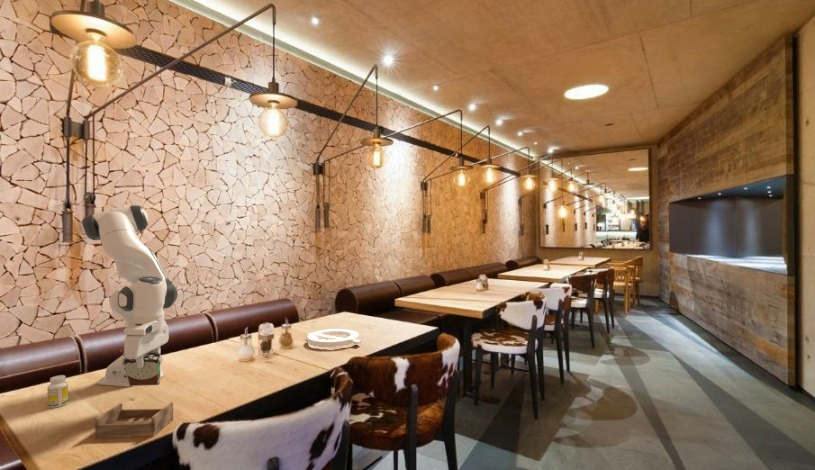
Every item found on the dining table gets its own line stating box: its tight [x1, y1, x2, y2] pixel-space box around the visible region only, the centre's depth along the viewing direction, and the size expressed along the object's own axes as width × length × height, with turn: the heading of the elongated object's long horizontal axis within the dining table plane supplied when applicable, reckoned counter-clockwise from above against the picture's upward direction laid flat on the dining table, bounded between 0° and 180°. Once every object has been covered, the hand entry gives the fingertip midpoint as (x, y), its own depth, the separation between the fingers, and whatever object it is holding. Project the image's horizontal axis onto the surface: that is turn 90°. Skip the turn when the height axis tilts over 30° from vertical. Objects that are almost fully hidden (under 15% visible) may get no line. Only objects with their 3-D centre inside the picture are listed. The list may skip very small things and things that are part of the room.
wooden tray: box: [94, 402, 174, 439], centre depth 120 cm, size 10×17×6 cm, turn 93°
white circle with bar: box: [306, 328, 363, 347], centre depth 217 cm, size 28×28×5 cm
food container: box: [122, 351, 163, 387], centre depth 136 cm, size 12×6×10 cm, turn 96°
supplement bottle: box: [46, 374, 69, 409], centre depth 136 cm, size 5×5×10 cm
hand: (147, 363), depth 136 cm, fingers closed on food container, 6 cm apart
